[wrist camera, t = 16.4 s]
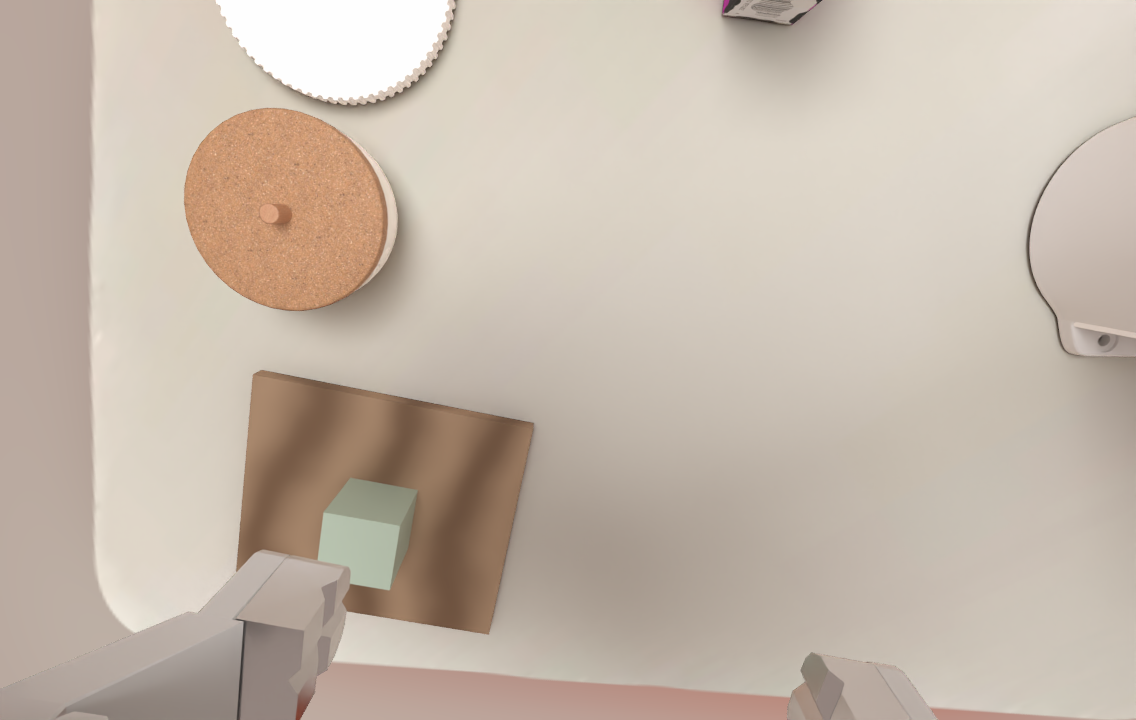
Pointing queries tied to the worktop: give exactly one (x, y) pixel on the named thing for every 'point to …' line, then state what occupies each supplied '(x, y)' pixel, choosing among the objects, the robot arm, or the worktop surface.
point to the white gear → (341, 43)
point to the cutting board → (395, 457)
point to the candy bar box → (769, 9)
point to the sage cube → (368, 531)
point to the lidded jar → (289, 209)
